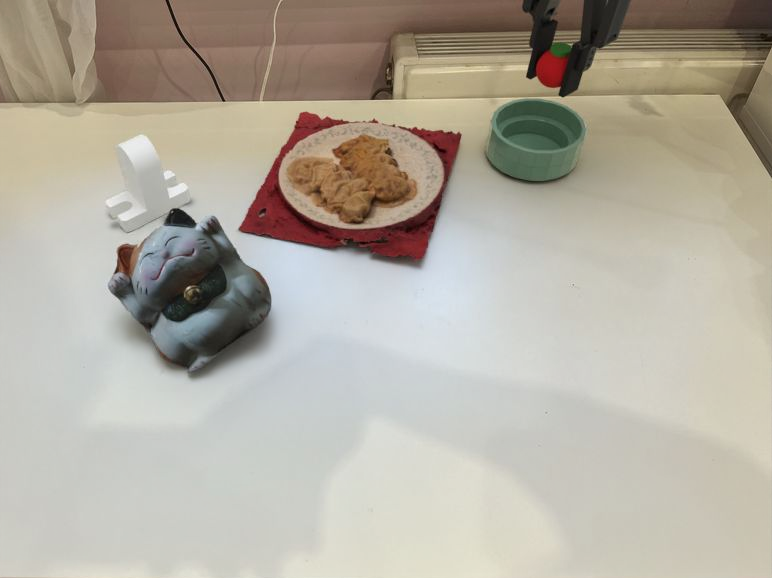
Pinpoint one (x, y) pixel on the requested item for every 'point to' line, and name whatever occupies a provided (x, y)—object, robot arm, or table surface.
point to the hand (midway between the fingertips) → (551, 83)
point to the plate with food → (356, 185)
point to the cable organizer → (144, 186)
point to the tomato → (553, 65)
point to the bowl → (535, 139)
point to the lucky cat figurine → (190, 289)
